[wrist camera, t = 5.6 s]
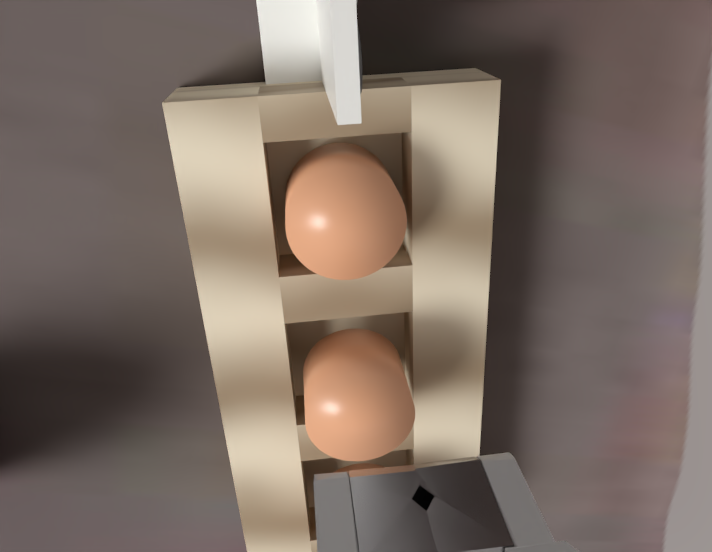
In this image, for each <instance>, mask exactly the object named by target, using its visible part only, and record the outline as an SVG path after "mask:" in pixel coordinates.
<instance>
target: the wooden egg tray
mask: <svg viewBox="0 0 712 552" xmlns="http://www.w3.org/2000/svg"><path fill="white" fill-rule="evenodd" d="M500 89H501V80H500V79H498V78H496V77H494V76H492V75H490V74H487V73H485V72H483V71H481V70H479V69H477V68H467V69H452V70H436V71H421V72H406V73H391V74H376V75H362V92H361V94H360V98H361V120H362V123H361V124H347V125H337V122H336V119H335V116H334V113H333V111H332V108H331V105H330V102H329V99H328V97H327V94H326V91H325V88H324V85H323V82H322V81H309V82H294V83H279V84H266V82H256V83H241V84H226V85H211V86H196V87H181V88H177V89H176V90H175V91H174V92H173V93H172V94H171V95H170V96H169V97H168V98H167V99H166V100H165V101H164V102H163V103H162V105H163V110H164V115H165V121H166V126H167V131H168V136H169V142H170V147H171V152H172V158H173V163H174V168H175V173H176V179H177V184H178V189H179V194H180V200H181V205H182V210H183V216H184V221H185V226H186V231H187V237H188V242H189V247H190V253H191V258H192V263H193V268H194V274H195V279H196V284H197V289H198V295H199V300H200V305H201V311H202V316H203V321H204V326H205V332H206V337H207V342H208V348H209V353H210V358H211V363H212V369H213V374H214V379H215V385H216V390H217V395H218V400H219V406H220V411H221V416H222V421H223V427H224V432H225V437H226V443H227V448H228V453H229V458H230V464H231V469H232V474H233V480H234V485H235V490H236V495H237V501H238V506H239V511H240V516H241V522H242V527H243V532H244V538H245V543H246V548H247V552H317V537H316V519H315V501H314V484H313V483H314V474H324V473H333V472H335V471H336V470H338V469H340V468H343V467H345V466H349V465H352V464H359V463H371V464H377V465H381V466H383V467H395V466H406V465H412V464H419V463H427V462H435V461H443V460H451V459H459V458H467V457H477V456H479V454H480V437H481V419H482V402H483V385H484V367H485V350H486V332H487V315H488V298H489V280H490V263H491V246H492V228H493V211H494V193H495V176H496V159H497V141H498V124H499V106H500ZM331 143H350V144H354V145H358V146H360V147H363V148H365V149H366V150H368V151H370V152H371V153H373V154H374V155H375V156H376V157H377V158H378V159H379V160H380V161H381V162H382V163H383V165H384V166H385V168H386V170H387V171H388V173H389V175H390V177H391V179H392V181H393V183H394V185H395V186H396V188H397V190H398V192H399V194H400V196H401V198H402V200H403V203H404V205H405V210H406V216H407V227H406V233H405V237H404V240H403V242H402V244H401V246H400V248H399V250H398V252H397V253H396V255H395V256H394V257H393V258H392V259H391V260H390V261H389V262H388V263H387V264H386V265H385V266H384V267H382V268H381V269H380V270H378V271H376V272H374V273H372V274H370V275H368V276H365V277H362V278H358V279H352V280H336V279H331V278H326V277H323V276H320V275H318V274H316V273H314V272H312V271H311V270H309V269H308V268H307V267H305V266H304V265H303V264H302V263H301V262H300V261H299V260H298V259H297V258H296V256H295V255H294V253H293V252H292V250H291V248H290V246H289V243H288V240H287V236H286V229H285V193H286V185H287V181H288V178H289V176H290V173H291V171H292V170H293V168H294V166H295V165H296V164H297V162H298V161H299V160H300V159H301V158H302V157H303V156H305V155H306V154H307V153H308V152H310V151H312V150H313V149H315V148H318V147H320V146H323V145H326V144H331ZM354 328H358V329H366V330H371V331H374V332H376V333H379V334H381V335H382V336H384V337H386V338H387V339H388V340H389V341H390V342H391V343H392V344H393V345H394V346H395V348H396V349H397V351H398V353H399V356H400V359H401V363H402V366H403V369H404V372H405V376H406V379H407V382H408V386H409V389H410V392H411V396H412V399H413V402H414V406H415V421H414V425H413V427H412V430H411V432H410V433H409V435H408V436H407V438H406V439H405V440H404V441H403V442H402V443H401V444H400V445H399V446H398V447H397V448H396V449H394V450H393V451H391V452H389V453H387V454H385V455H383V456H381V457H378V458H375V459H371V460H366V461H345V460H340V459H336V458H333V457H331V456H329V455H327V454H325V453H323V452H322V451H320V450H319V449H318V448H317V447H316V446H315V445H314V444H313V443H312V441H311V440H310V438H309V436H308V434H307V431H306V426H305V406H304V383H303V367H304V362H305V359H306V357H307V355H308V353H309V352H310V350H311V349H312V348H313V346H314V345H315V344H316V343H318V342H319V341H320V340H321V339H323V338H324V337H326V336H328V335H329V334H332V333H334V332H337V331H340V330H344V329H354Z"/></svg>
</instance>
